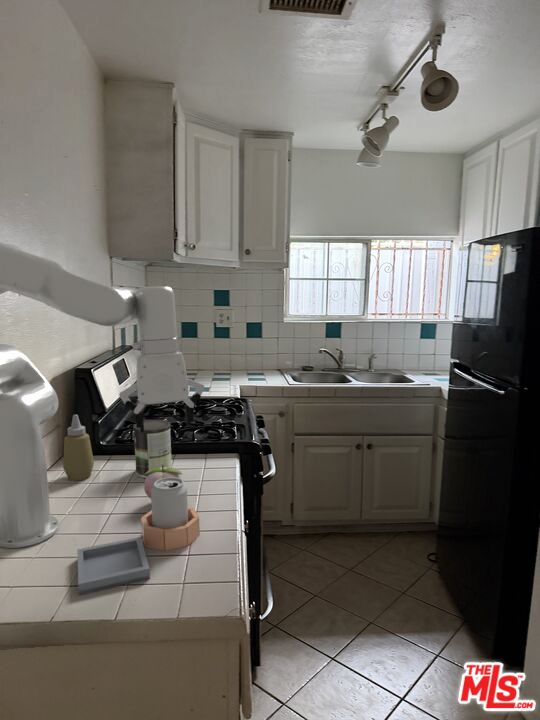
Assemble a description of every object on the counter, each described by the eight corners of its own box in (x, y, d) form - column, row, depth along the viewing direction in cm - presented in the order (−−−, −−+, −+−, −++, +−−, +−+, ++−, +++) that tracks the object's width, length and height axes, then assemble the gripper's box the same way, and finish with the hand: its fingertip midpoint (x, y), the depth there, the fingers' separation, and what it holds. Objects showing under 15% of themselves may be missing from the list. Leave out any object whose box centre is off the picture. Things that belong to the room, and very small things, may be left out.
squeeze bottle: (76, 485, 128) (71, 420, 125) (57, 479, 132) (52, 416, 129) (101, 475, 135) (97, 413, 132) (82, 469, 139) (78, 410, 136)
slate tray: (79, 595, 82) (78, 584, 81) (78, 559, 93) (77, 549, 92) (149, 578, 86) (149, 568, 86) (140, 546, 97) (140, 536, 97)
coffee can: (130, 478, 132) (128, 429, 130) (141, 464, 143) (139, 419, 140) (167, 478, 132) (165, 429, 130) (175, 465, 142) (174, 419, 140)
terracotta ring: (147, 554, 94) (146, 535, 94) (139, 528, 105) (138, 510, 104) (203, 542, 98) (203, 524, 98) (191, 518, 109) (190, 501, 108)
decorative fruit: (184, 494, 121) (182, 457, 120) (183, 509, 113) (181, 469, 112) (146, 497, 120) (144, 459, 119) (142, 512, 112) (140, 472, 111)
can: (180, 546, 97) (178, 490, 95) (146, 542, 99) (144, 487, 97) (193, 528, 104) (192, 476, 103) (161, 525, 106) (159, 473, 104)
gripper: (115, 352, 91) (122, 438, 94) (204, 345, 96) (209, 427, 99) (115, 348, 98) (122, 428, 101) (198, 342, 103) (203, 418, 106)
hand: (165, 427), depth 100 cm, fingers open, 9 cm apart
